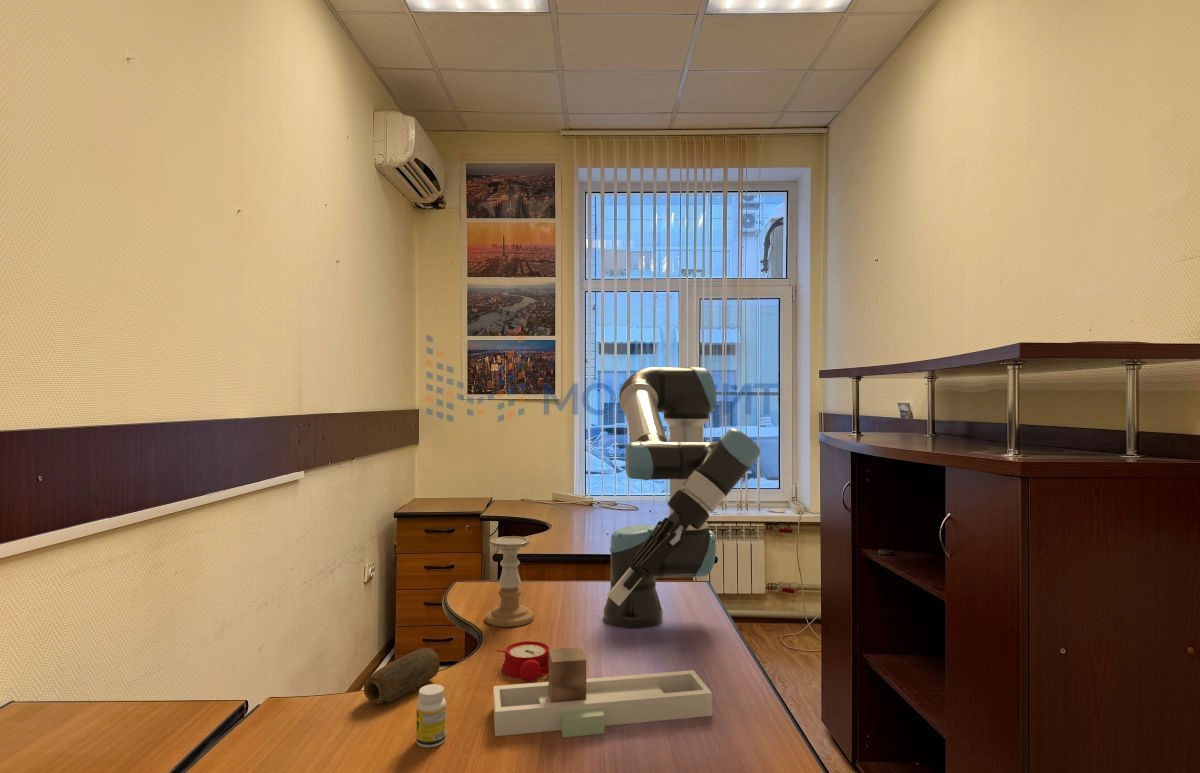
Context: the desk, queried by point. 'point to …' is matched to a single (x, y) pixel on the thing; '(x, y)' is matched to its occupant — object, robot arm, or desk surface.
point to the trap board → (603, 701)
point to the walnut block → (567, 675)
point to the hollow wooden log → (402, 676)
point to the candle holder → (509, 585)
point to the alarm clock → (526, 660)
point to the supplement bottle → (431, 716)
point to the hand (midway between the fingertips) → (613, 600)
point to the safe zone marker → (582, 722)
